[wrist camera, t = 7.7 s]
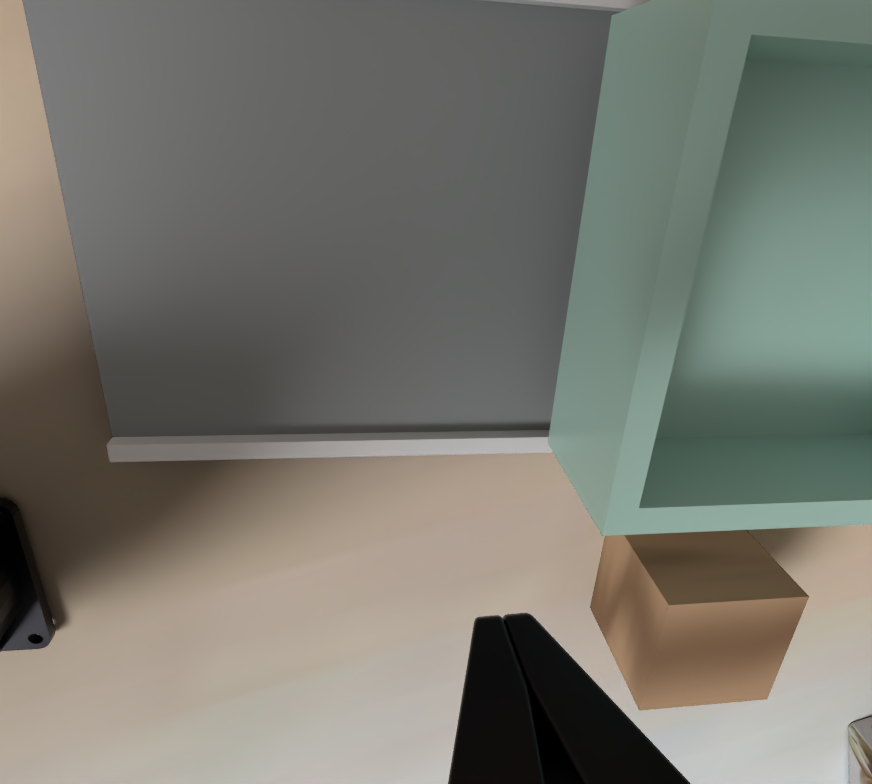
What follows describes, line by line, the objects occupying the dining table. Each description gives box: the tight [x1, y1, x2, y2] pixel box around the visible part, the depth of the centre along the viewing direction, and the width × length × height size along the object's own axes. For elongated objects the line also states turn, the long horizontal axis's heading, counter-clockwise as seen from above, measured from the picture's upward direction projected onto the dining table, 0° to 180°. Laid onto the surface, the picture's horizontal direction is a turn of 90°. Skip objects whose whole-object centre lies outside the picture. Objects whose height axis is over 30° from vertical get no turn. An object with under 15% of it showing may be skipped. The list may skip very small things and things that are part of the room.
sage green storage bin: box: [548, 0, 872, 536], centre depth 16 cm, size 12×12×6 cm
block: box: [590, 530, 809, 710], centre depth 23 cm, size 5×5×5 cm
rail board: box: [22, 0, 652, 462], centre depth 17 cm, size 14×30×3 cm, turn 87°
